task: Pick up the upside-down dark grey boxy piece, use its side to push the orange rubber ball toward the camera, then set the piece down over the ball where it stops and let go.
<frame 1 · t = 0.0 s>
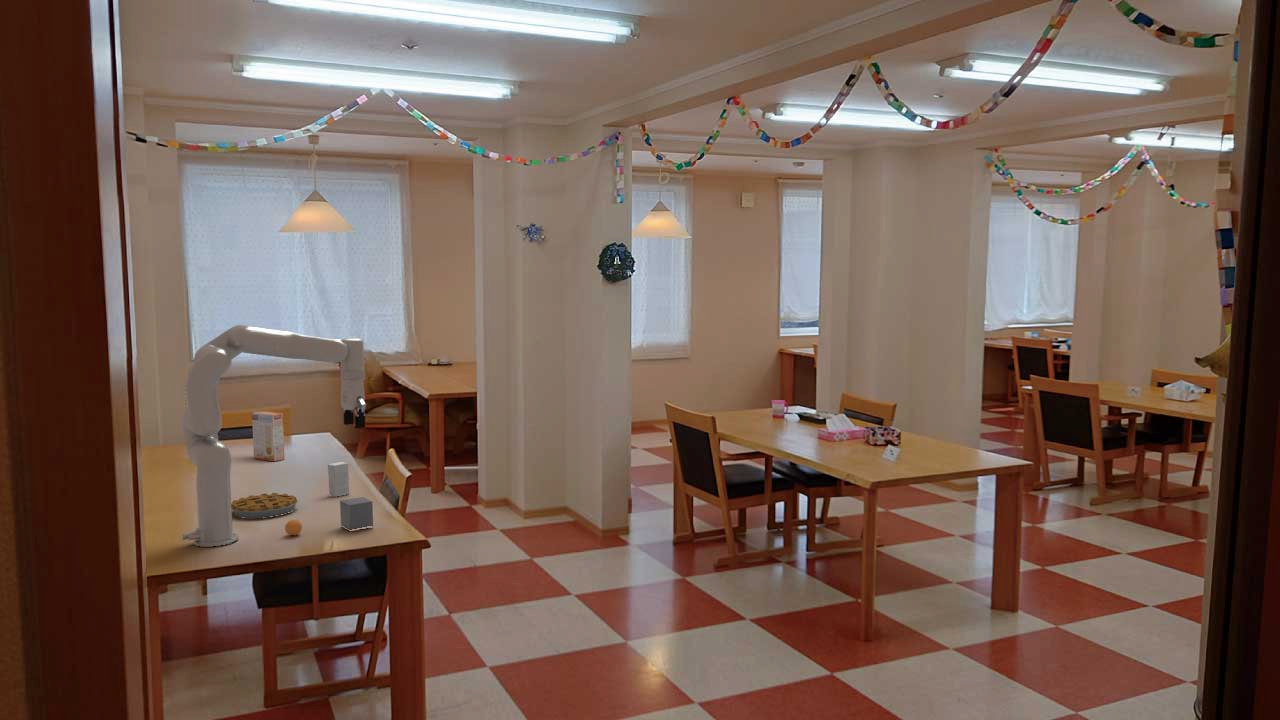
hand: (354, 426, 317), 31 cm above the table, tool pointing down, fingers open, 9 cm apart
skincare box: (339, 495, 352), on the table
dark grey boxy piece: (357, 527, 307), on the table
ball: (293, 527, 299), on the table
cracker box: (269, 459, 418), on the table
pie: (264, 513, 328), on the table
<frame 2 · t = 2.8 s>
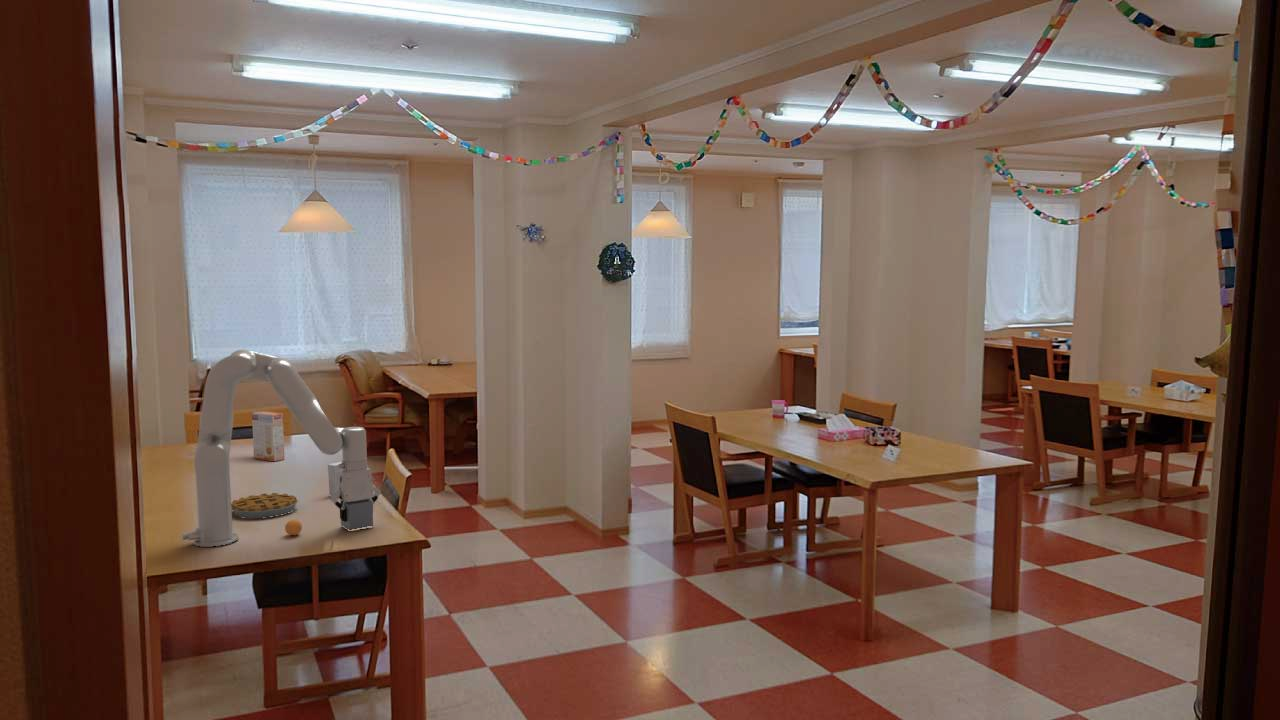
hand: (356, 518, 307), 3 cm above the table, tool pointing down, fingers closed on dark grey boxy piece, 7 cm apart
dark grey boxy piece: (357, 527, 307), on the table, touching gripper
everything else where it was.
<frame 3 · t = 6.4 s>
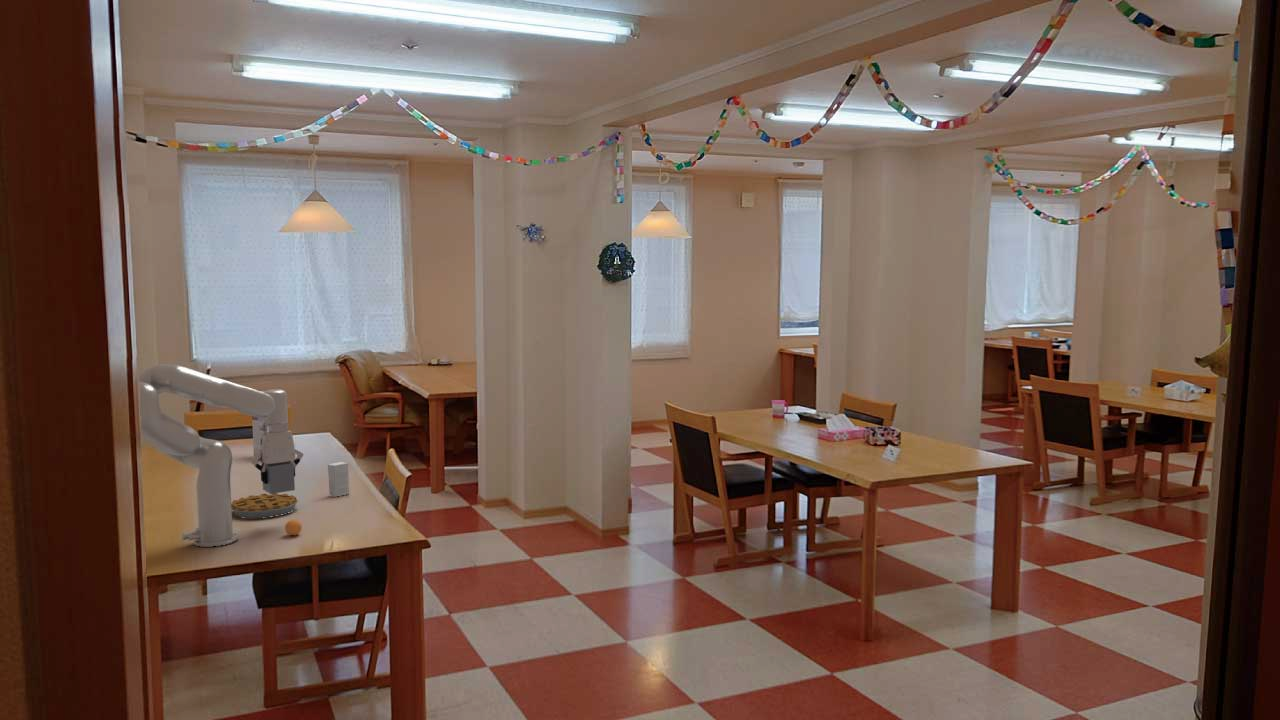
hand: (278, 481, 308), 15 cm above the table, tool pointing down, fingers closed on dark grey boxy piece, 7 cm apart
dark grey boxy piece: (278, 489, 308), point 12 cm above the table, touching gripper
everything else where it was.
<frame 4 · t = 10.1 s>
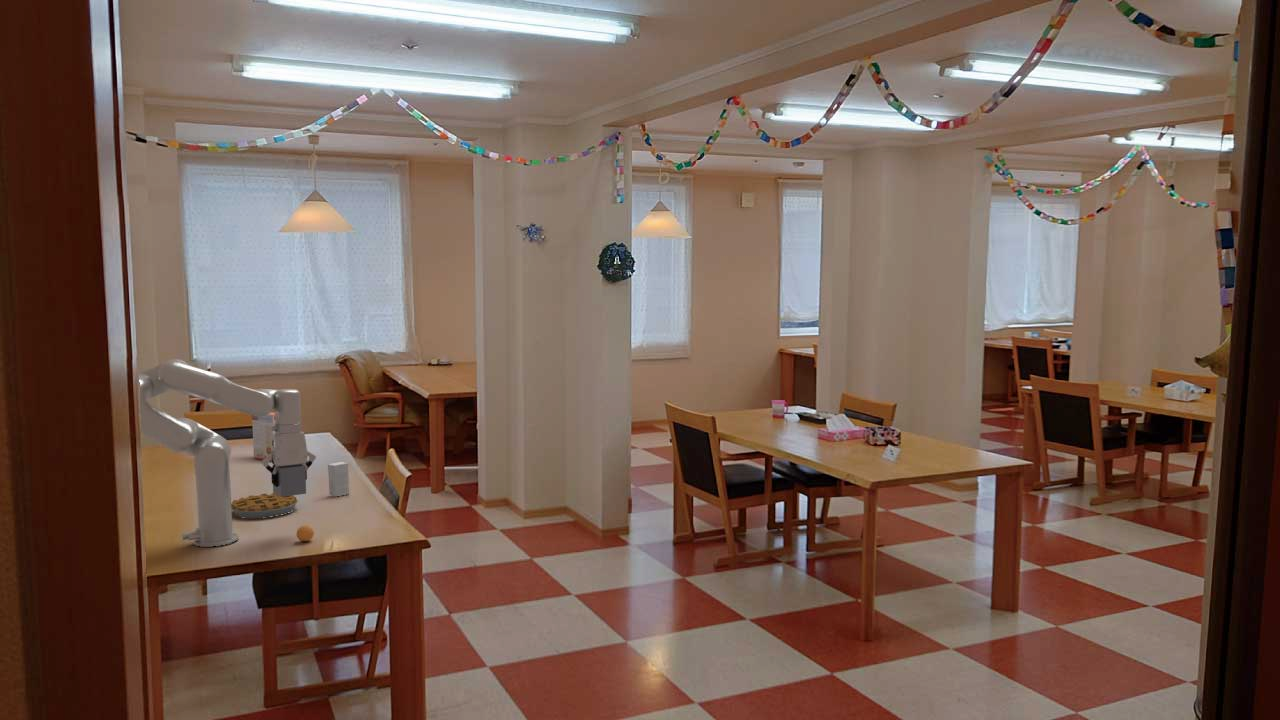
hand: (289, 483, 298), 16 cm above the table, tool pointing down, fingers closed on dark grey boxy piece, 7 cm apart
dark grey boxy piece: (289, 492, 298), point 13 cm above the table, touching gripper
ball: (305, 533, 292), on the table
everything else where it was.
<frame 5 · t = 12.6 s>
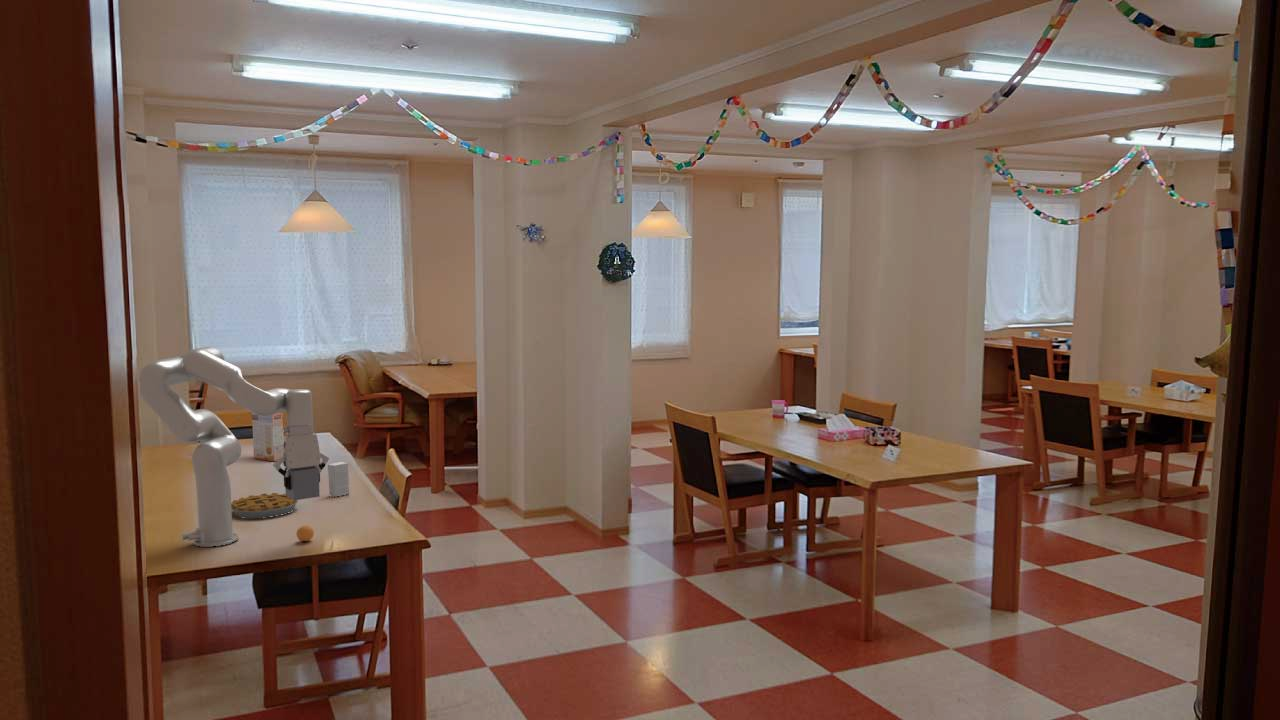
hand: (302, 486, 289), 17 cm above the table, tool pointing down, fingers closed on dark grey boxy piece, 7 cm apart
dark grey boxy piece: (302, 496, 290), point 14 cm above the table, touching gripper
everything else where it was.
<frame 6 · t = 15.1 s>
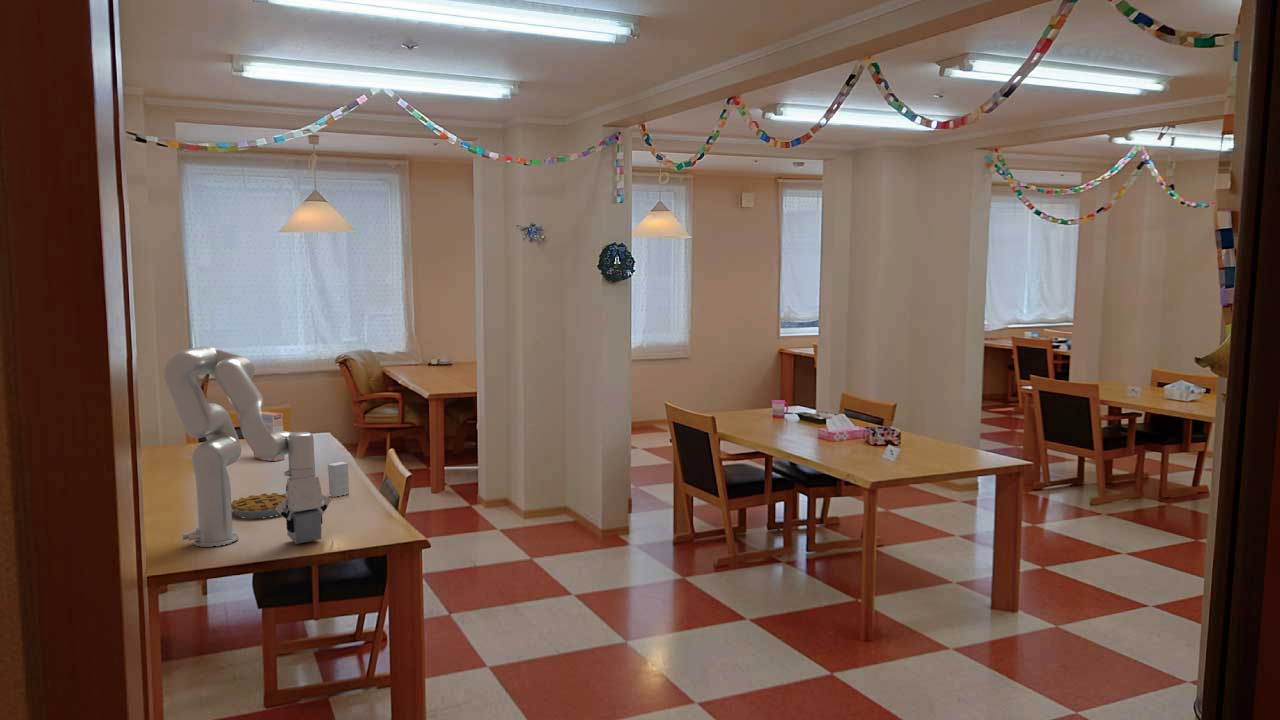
hand: (304, 528, 291), 4 cm above the table, tool pointing down, fingers closed on dark grey boxy piece, 7 cm apart
dark grey boxy piece: (304, 537, 292), point 1 cm above the table, tilted 8°, touching gripper
when the fingers open (3 cm above the table, at t = 15.9 s): dark grey boxy piece stays where it is, on the table.
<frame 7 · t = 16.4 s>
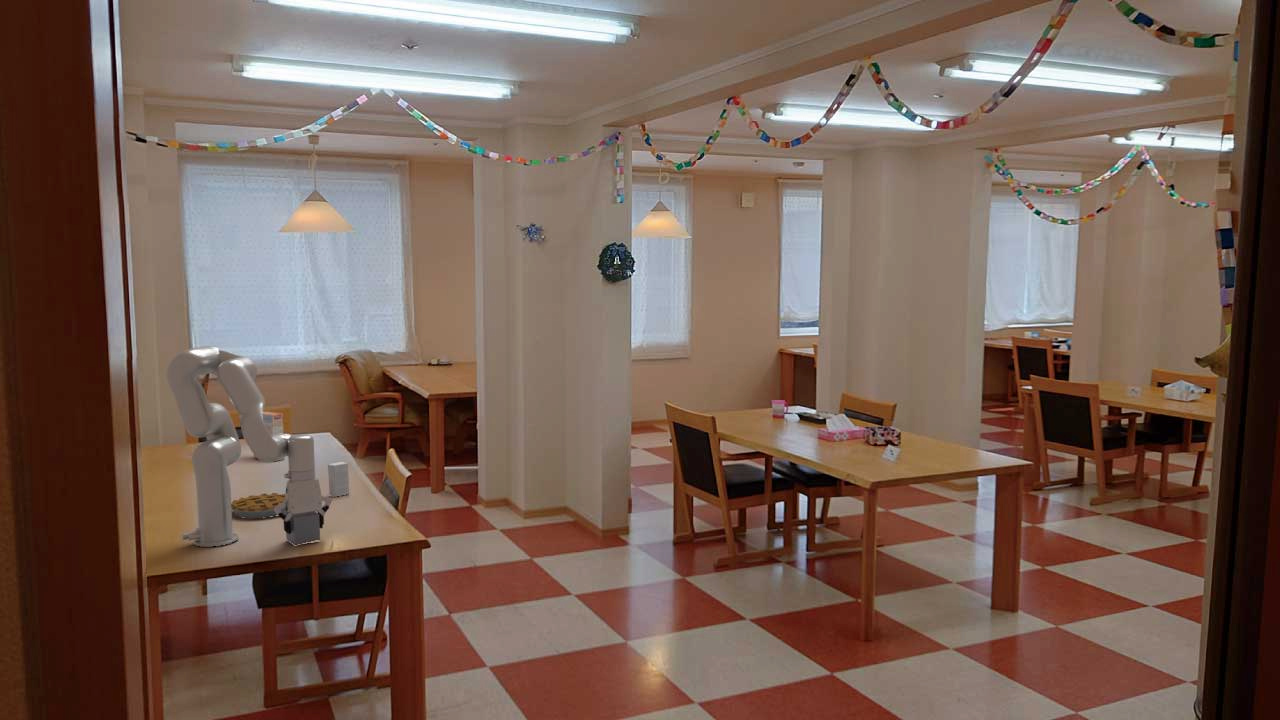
hand: (304, 530, 291), 4 cm above the table, tool pointing down, fingers open, 9 cm apart
dark grey boxy piece: (303, 541, 292), on the table
everything else where it was.
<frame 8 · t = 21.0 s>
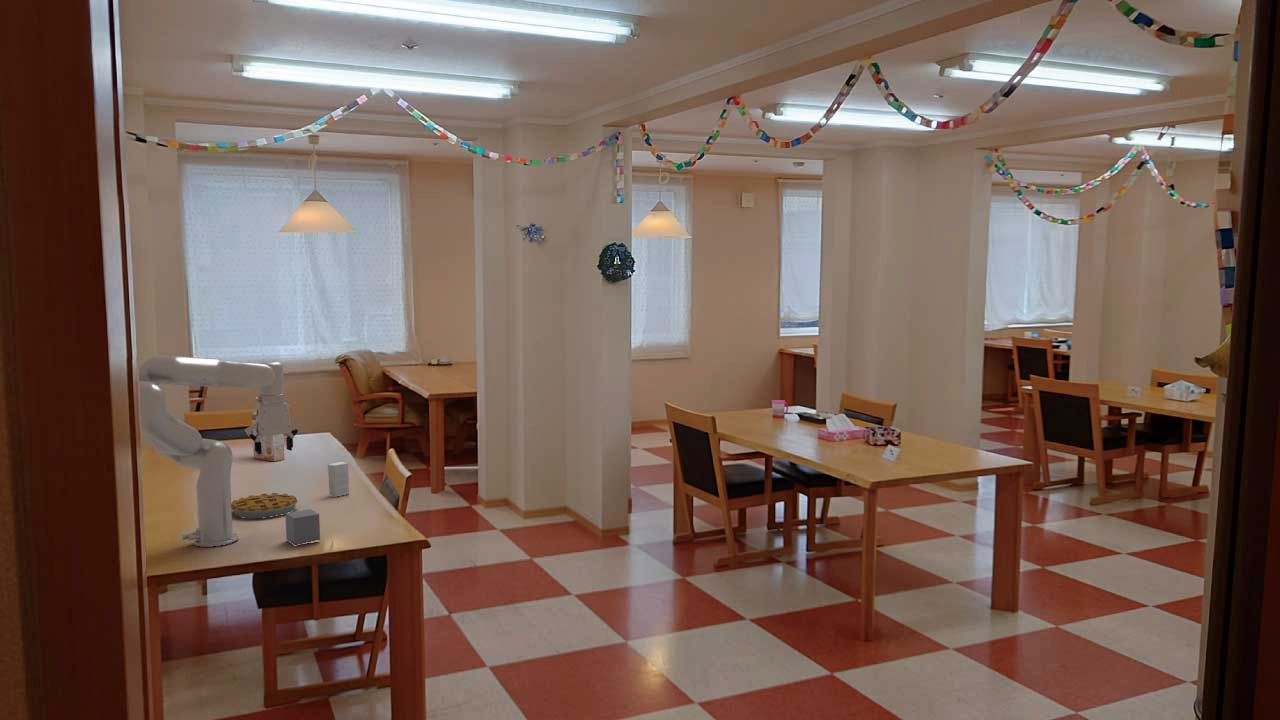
hand: (274, 451, 309), 24 cm above the table, tool pointing down, fingers open, 9 cm apart
nothing on the table moved.
at the end: ball 0.6 cm from the dark grey boxy piece (horizontally); dark grey boxy piece on the table; ball moved 8.5 cm from its start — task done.
